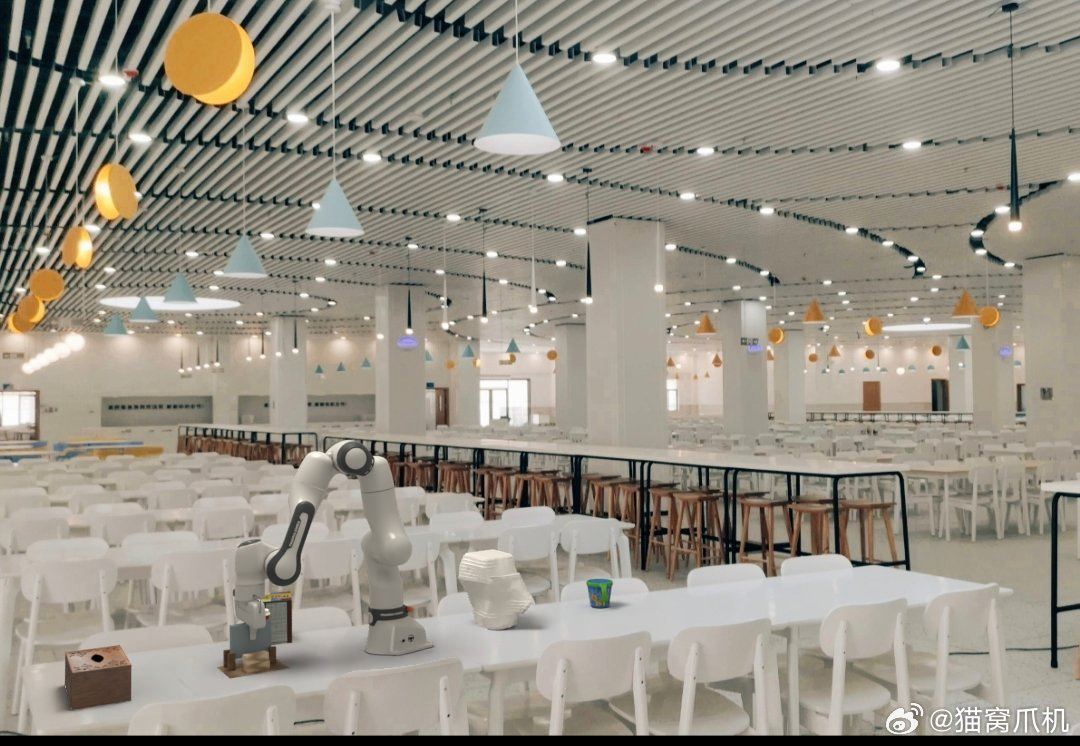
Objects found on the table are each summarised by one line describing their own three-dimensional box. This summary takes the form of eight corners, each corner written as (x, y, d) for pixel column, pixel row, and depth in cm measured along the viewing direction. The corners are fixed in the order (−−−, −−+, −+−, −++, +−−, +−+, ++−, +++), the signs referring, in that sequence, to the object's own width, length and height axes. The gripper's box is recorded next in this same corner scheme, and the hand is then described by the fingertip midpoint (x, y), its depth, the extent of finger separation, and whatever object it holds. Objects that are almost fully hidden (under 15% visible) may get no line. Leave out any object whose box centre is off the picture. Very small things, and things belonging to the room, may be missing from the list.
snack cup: (616, 610, 351) (615, 584, 351) (589, 611, 350) (589, 584, 350) (609, 602, 366) (609, 577, 367) (584, 603, 365) (583, 577, 366)
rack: (274, 659, 286) (274, 641, 286) (290, 670, 273) (290, 651, 274) (216, 669, 276) (216, 650, 276) (229, 681, 263) (229, 661, 264)
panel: (268, 651, 282) (268, 619, 283) (271, 653, 280) (271, 620, 281) (229, 658, 275) (229, 625, 276) (231, 659, 273) (231, 626, 274)
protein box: (290, 635, 319) (290, 590, 320) (292, 645, 304) (292, 598, 305) (259, 637, 316) (259, 593, 317) (260, 648, 301) (260, 601, 302)
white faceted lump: (504, 615, 344) (503, 548, 346) (534, 630, 320) (533, 557, 321) (452, 622, 335) (451, 552, 336) (479, 637, 311) (478, 562, 312)
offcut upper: (265, 658, 275) (264, 650, 275) (268, 660, 273) (268, 652, 273) (242, 662, 271) (242, 654, 271) (246, 664, 268) (246, 656, 268)
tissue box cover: (64, 687, 261) (65, 652, 261) (119, 678, 268) (119, 645, 269) (71, 711, 239) (72, 673, 239) (131, 701, 247) (131, 664, 247)
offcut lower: (266, 666, 275) (266, 658, 275) (269, 669, 272) (269, 660, 273) (243, 670, 271) (243, 662, 271) (246, 673, 269) (246, 664, 269)
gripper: (270, 596, 272) (271, 643, 271) (250, 586, 289) (251, 630, 288) (249, 599, 268) (250, 646, 268) (230, 589, 285) (231, 633, 285)
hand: (250, 638), depth 278 cm, fingers closed on panel, 2 cm apart
